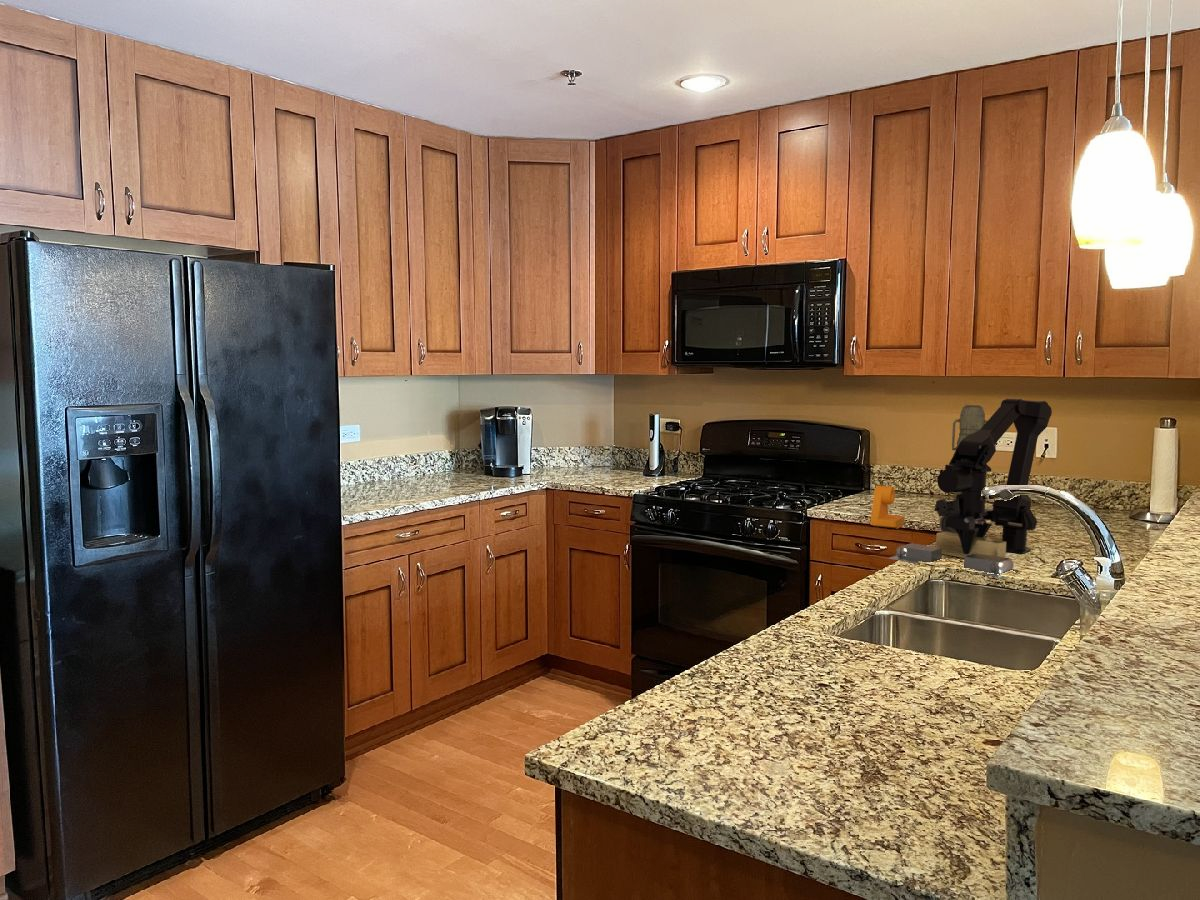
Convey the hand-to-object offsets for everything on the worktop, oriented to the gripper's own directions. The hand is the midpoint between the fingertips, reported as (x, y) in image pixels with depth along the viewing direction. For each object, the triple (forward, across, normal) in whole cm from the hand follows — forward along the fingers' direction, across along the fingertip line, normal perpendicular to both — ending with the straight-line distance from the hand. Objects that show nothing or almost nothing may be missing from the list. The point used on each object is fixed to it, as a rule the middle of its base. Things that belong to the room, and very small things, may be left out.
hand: (969, 552), depth 220 cm
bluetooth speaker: (+2, -26, -13) cm, 29 cm away
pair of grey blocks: (+1, +10, 0) cm, 10 cm away
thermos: (+2, -74, -31) cm, 80 cm away
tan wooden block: (+1, 0, 0) cm, 1 cm away
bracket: (+2, -28, -36) cm, 46 cm away
